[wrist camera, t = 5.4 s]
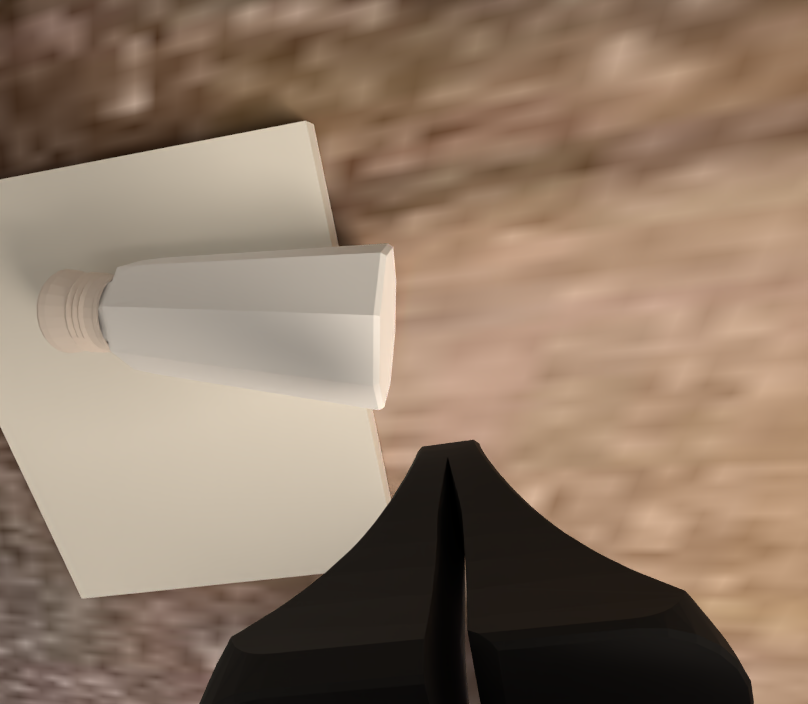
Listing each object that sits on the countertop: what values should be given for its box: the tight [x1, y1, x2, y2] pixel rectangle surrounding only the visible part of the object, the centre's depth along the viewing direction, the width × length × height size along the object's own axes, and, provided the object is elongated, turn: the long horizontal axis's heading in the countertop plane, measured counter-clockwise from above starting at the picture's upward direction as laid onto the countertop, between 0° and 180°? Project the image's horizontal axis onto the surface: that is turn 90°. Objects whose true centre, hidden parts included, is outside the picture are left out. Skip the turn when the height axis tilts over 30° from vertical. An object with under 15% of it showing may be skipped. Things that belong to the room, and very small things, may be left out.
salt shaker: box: [36, 243, 396, 410], centre depth 17 cm, size 5×5×11 cm
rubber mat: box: [0, 121, 391, 599], centre depth 21 cm, size 18×15×1 cm
